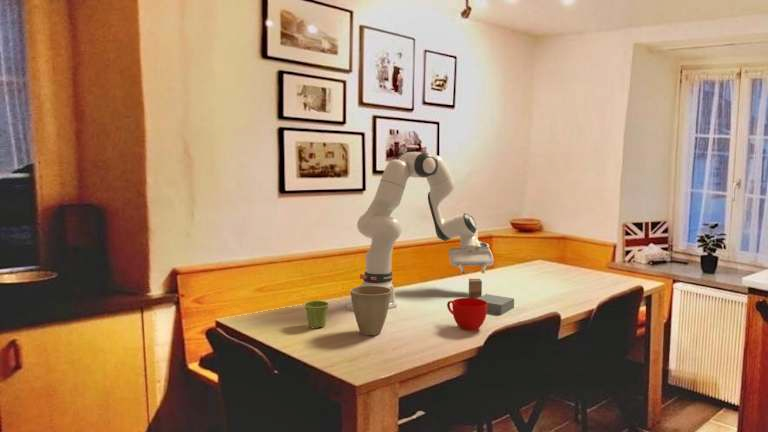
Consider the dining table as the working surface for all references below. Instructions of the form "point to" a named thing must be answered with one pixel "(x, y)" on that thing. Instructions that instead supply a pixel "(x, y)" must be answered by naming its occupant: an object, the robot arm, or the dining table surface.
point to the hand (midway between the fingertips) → (472, 272)
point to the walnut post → (475, 288)
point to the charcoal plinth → (498, 303)
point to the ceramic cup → (468, 312)
